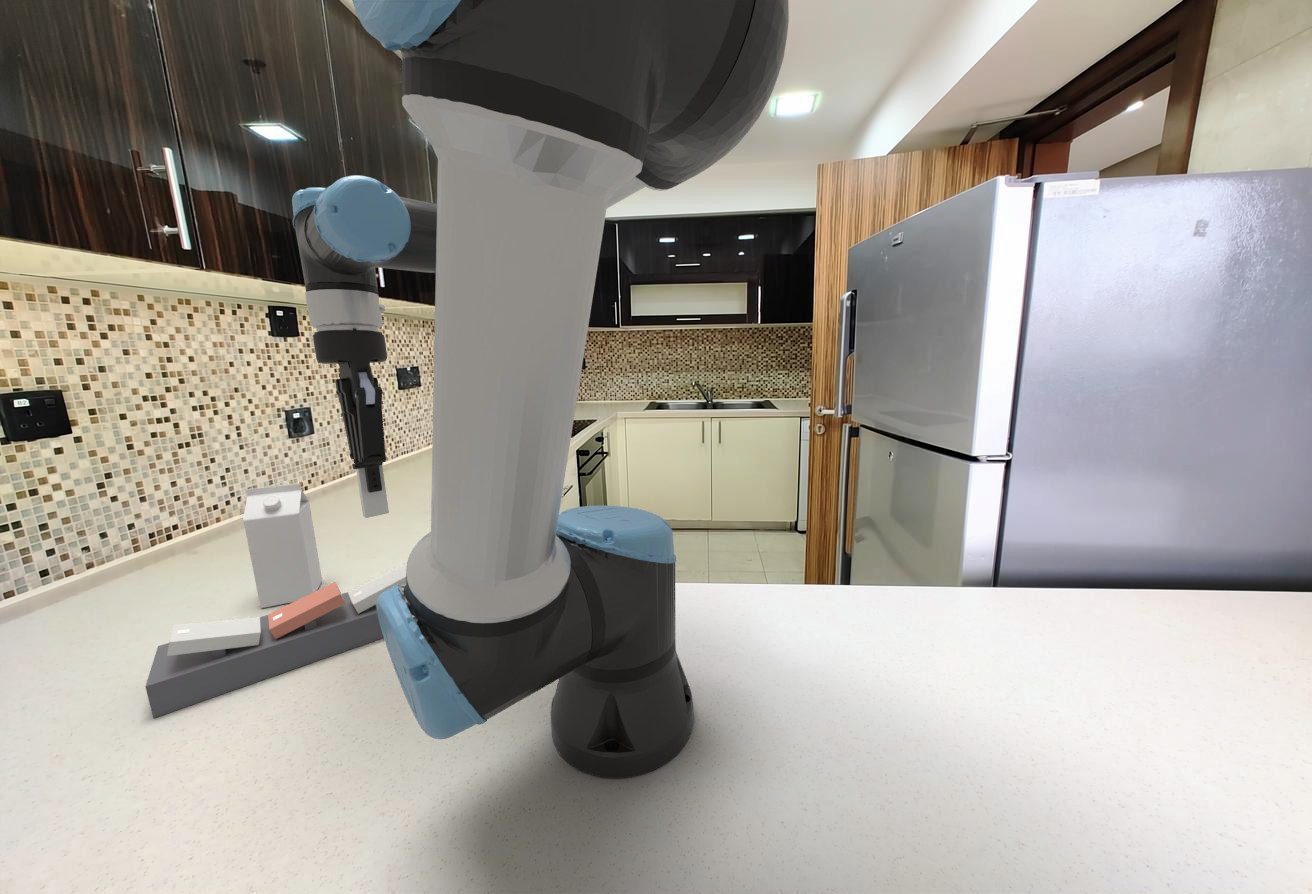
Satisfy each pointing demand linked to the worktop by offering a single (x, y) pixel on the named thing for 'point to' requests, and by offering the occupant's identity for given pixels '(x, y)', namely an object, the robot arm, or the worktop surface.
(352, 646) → the dark grey switch base
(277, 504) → the milk carton
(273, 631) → the rocker red
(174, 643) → the grey rocker
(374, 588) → the grey rocker
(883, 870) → the worktop surface
